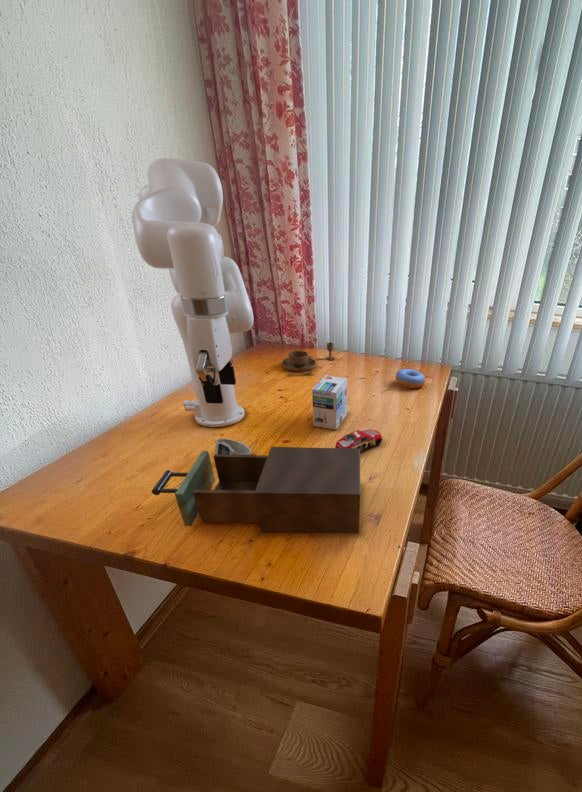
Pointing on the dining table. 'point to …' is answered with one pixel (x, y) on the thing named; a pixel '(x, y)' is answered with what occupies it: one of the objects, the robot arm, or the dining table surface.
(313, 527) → the cabinet
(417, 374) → the doughnut
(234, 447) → the wristwatch
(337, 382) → the light bulb box
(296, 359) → the place setting
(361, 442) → the race car
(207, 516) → the drawer
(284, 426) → the dining table surface
